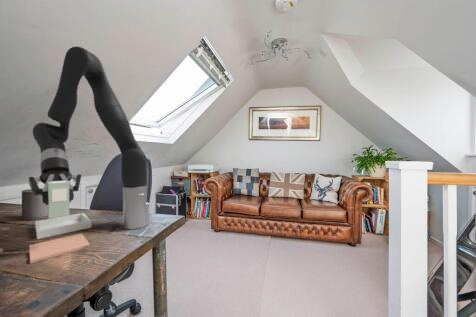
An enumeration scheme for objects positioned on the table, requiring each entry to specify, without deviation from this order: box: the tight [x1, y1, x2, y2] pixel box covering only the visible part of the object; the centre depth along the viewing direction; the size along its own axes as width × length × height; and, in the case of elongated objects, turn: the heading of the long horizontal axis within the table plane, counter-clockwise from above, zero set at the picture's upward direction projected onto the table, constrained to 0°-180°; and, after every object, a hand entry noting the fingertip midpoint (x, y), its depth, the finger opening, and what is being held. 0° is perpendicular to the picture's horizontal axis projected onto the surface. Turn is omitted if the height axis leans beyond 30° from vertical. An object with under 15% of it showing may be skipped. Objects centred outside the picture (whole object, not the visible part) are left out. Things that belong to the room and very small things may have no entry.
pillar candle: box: [21, 187, 48, 222], centre depth 99 cm, size 10×10×15 cm
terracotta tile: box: [28, 232, 91, 264], centre depth 67 cm, size 14×14×1 cm
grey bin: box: [34, 212, 92, 240], centre depth 83 cm, size 16×16×4 cm
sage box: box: [47, 181, 70, 219], centre depth 67 cm, size 5×5×11 cm
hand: (59, 201), depth 66 cm, fingers closed on sage box, 5 cm apart
